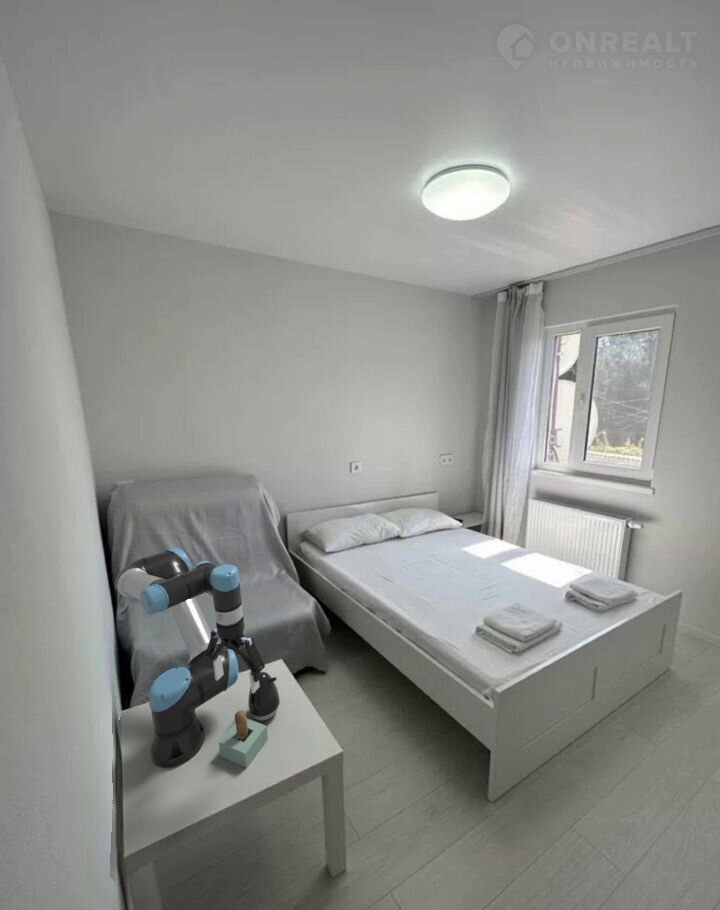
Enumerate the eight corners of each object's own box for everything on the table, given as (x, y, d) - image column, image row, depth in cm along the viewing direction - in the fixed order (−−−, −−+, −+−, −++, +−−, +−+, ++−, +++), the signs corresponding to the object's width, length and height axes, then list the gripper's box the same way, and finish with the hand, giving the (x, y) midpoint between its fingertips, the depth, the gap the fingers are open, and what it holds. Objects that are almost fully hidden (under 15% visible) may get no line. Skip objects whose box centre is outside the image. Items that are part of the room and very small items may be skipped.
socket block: (220, 756, 120) (218, 742, 119) (242, 729, 129) (241, 716, 128) (246, 768, 116) (245, 753, 115) (267, 739, 125) (266, 725, 124)
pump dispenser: (273, 728, 129) (269, 687, 126) (244, 723, 131) (239, 683, 128) (285, 703, 138) (282, 664, 136) (258, 699, 141) (254, 661, 138)
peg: (243, 742, 124) (239, 709, 122) (251, 745, 123) (248, 712, 121) (236, 750, 121) (232, 717, 119) (244, 754, 120) (240, 720, 118)
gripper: (187, 617, 116) (196, 680, 120) (256, 636, 106) (263, 705, 110) (206, 603, 122) (214, 664, 126) (273, 620, 112) (279, 685, 116)
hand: (237, 683), depth 118 cm, fingers open, 13 cm apart
